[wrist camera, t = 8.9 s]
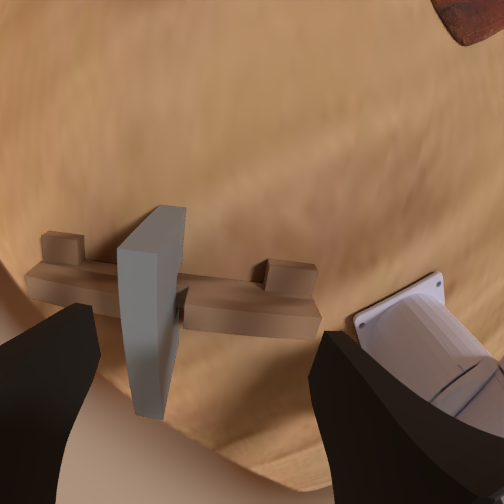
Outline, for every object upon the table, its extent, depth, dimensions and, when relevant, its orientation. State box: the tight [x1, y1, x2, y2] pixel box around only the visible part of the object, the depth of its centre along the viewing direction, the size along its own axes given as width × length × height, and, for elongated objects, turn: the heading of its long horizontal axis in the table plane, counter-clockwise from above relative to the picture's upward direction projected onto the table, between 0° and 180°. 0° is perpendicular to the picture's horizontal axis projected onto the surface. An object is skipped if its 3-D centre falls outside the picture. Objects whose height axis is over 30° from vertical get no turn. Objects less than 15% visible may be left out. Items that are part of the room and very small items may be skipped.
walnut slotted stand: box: [24, 231, 322, 340], centre depth 17 cm, size 18×5×4 cm, turn 81°
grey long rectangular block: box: [117, 205, 186, 420], centre depth 15 cm, size 10×2×7 cm, turn 171°
